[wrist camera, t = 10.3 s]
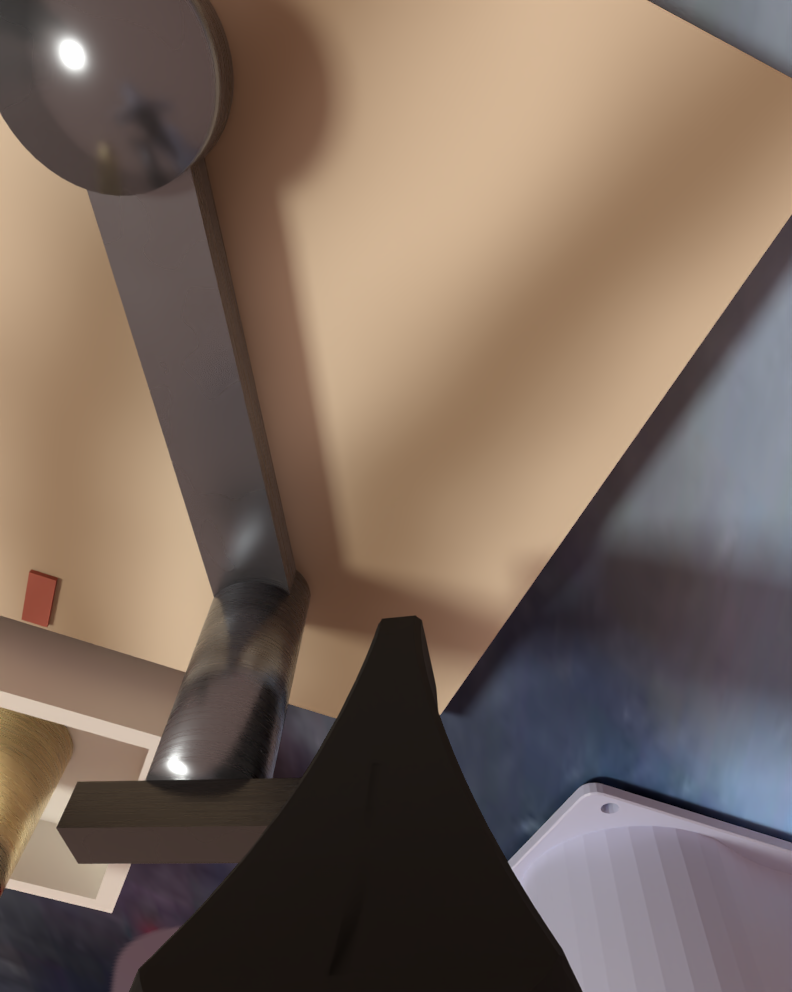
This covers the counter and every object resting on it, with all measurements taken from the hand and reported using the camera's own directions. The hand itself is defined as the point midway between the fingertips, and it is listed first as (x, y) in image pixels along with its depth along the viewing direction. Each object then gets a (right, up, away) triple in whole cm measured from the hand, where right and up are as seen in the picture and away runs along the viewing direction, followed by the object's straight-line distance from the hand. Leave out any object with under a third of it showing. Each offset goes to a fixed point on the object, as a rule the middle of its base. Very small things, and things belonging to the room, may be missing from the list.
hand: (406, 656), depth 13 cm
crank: (-4, +5, 0) cm, 6 cm away
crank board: (-5, +6, +1) cm, 8 cm away
